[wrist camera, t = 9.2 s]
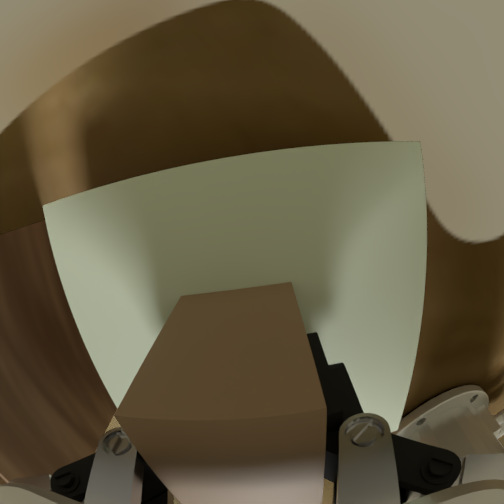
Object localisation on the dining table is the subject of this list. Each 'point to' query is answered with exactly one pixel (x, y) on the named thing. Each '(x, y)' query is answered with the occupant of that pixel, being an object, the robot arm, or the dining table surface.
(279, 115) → the dining table surface
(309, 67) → the dining table surface
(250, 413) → the lid
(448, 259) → the dining table surface
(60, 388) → the wooden box
